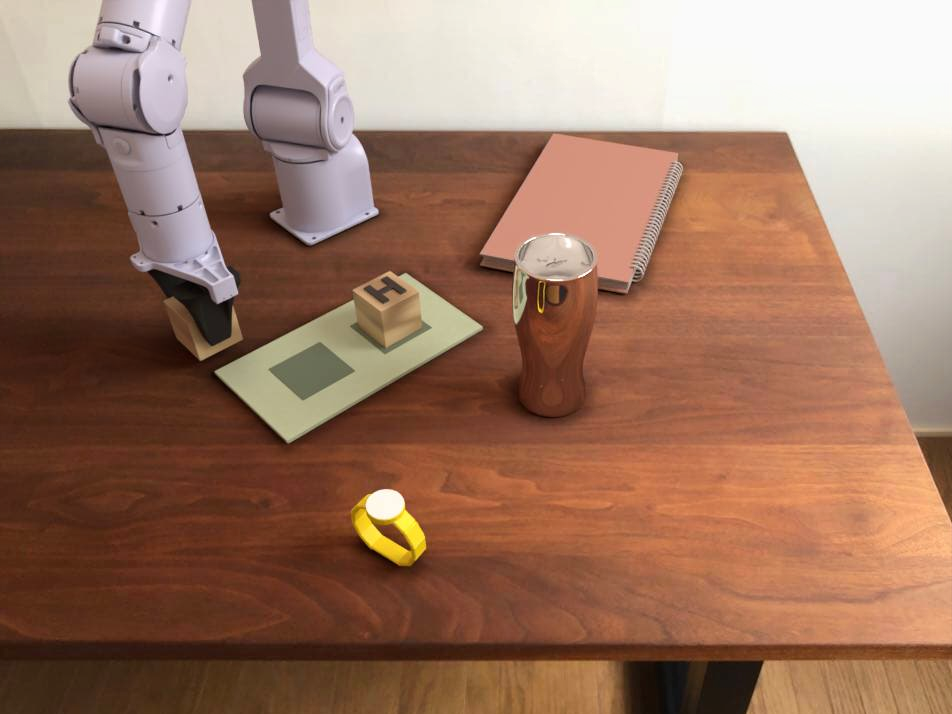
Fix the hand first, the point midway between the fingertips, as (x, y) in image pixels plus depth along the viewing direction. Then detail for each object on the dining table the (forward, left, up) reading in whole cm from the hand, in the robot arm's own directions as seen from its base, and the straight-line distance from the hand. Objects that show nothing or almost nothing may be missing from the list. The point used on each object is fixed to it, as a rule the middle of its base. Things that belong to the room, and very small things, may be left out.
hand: (205, 326), depth 82 cm
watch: (+2, +30, -3) cm, 30 cm away
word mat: (-9, +9, -3) cm, 13 cm away
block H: (-14, +9, -2) cm, 17 cm away
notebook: (-43, +8, -3) cm, 44 cm away
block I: (0, 0, -1) cm, 1 cm away
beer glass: (-19, +26, -3) cm, 32 cm away
